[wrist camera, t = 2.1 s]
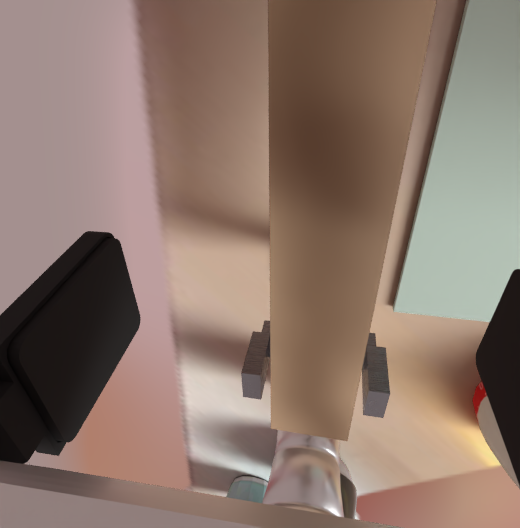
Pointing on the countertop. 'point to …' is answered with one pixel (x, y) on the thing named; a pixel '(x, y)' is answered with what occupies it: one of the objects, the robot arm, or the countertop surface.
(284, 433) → the plastic bottle
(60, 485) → the robot arm
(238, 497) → the disposable coffee cup
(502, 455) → the kitchen timer
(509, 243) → the mat
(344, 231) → the rail
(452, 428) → the countertop surface
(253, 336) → the hook standards
